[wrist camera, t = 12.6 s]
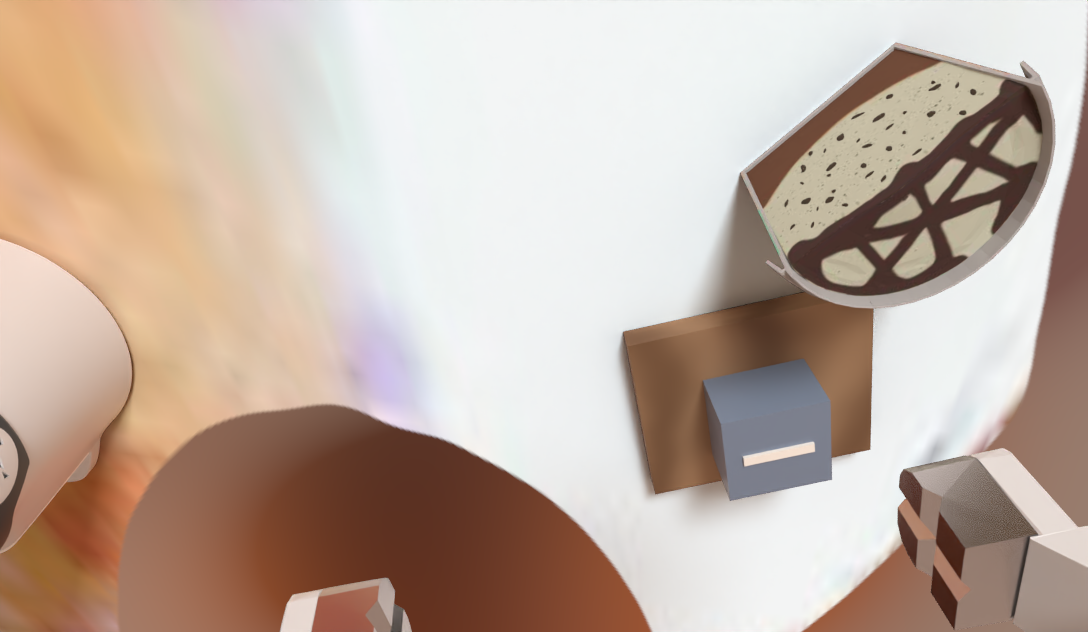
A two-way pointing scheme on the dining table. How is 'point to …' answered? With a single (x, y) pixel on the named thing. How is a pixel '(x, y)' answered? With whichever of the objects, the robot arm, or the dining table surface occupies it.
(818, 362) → the board
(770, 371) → the grey drawer unit
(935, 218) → the food container
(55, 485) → the robot arm
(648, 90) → the dining table surface
